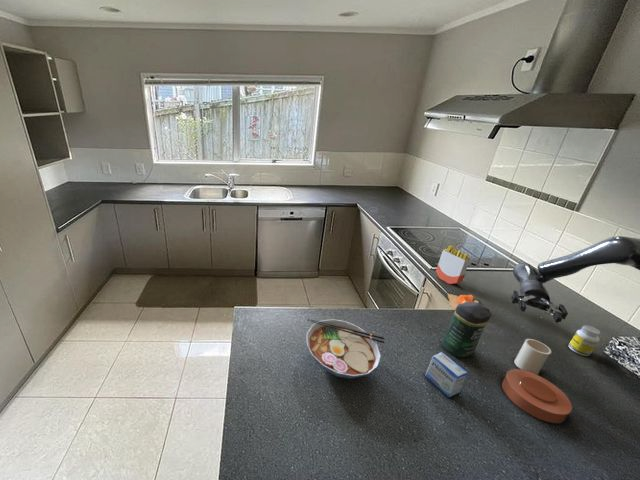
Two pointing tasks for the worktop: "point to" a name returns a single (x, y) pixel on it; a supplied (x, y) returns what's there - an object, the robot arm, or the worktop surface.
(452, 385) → the medicine box
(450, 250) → the french fries container
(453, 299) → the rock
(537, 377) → the terracotta pedestal disc
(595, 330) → the supplement bottle
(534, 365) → the cream cup
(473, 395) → the worktop surface
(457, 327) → the coffee jar
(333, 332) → the ramen bowl
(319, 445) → the worktop surface
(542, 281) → the robot arm
